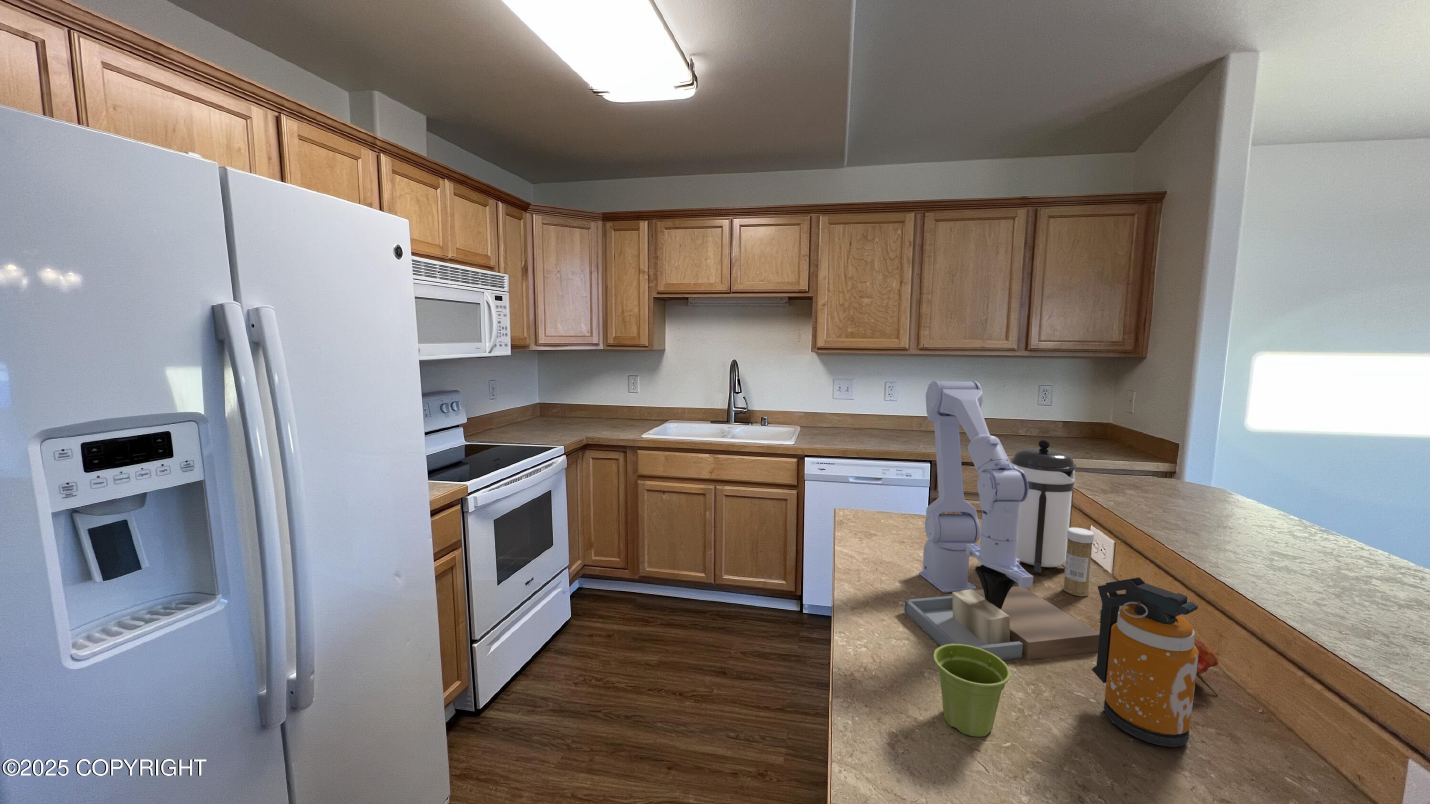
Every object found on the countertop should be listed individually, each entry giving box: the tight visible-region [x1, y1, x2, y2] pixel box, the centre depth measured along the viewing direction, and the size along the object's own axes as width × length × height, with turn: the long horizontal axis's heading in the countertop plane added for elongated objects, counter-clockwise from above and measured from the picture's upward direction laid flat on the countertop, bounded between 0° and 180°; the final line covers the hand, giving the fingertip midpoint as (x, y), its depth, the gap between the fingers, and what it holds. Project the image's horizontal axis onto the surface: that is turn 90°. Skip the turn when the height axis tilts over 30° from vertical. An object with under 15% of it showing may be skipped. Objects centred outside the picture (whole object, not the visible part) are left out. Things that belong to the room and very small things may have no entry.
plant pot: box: [933, 644, 1011, 738], centre depth 72 cm, size 9×9×9 cm
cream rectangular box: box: [951, 589, 1010, 645], centre depth 94 cm, size 10×5×4 cm
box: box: [904, 595, 1023, 661], centre depth 94 cm, size 17×11×2 cm
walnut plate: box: [973, 585, 1099, 660], centre depth 96 cm, size 18×14×3 cm
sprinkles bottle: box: [1062, 527, 1095, 597], centre depth 109 cm, size 5×5×14 cm
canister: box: [1091, 576, 1199, 747], centre depth 71 cm, size 9×11×20 cm
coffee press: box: [1010, 439, 1077, 577], centre depth 123 cm, size 17×16×30 cm
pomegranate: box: [1194, 637, 1220, 697], centre depth 80 cm, size 7×7×10 cm
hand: (994, 607), depth 95 cm, fingers closed, pressing on cream rectangular box
